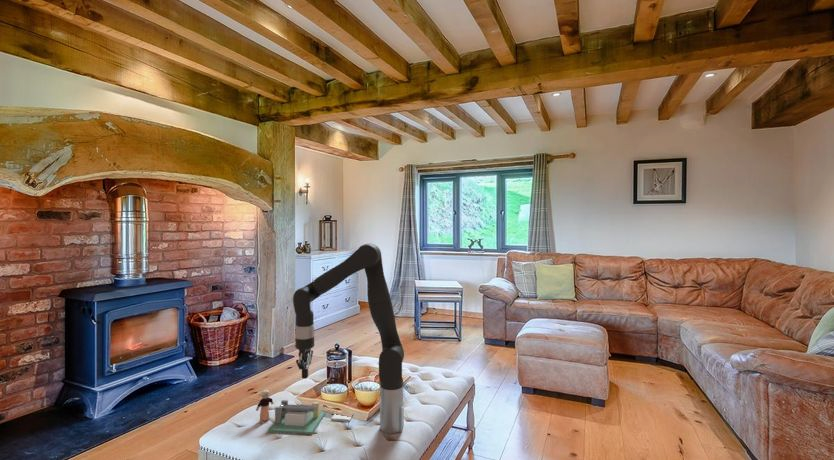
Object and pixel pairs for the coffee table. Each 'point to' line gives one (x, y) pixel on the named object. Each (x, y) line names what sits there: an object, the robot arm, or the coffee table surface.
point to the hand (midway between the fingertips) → (305, 377)
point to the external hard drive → (341, 418)
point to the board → (298, 428)
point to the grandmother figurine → (264, 406)
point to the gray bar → (298, 407)
